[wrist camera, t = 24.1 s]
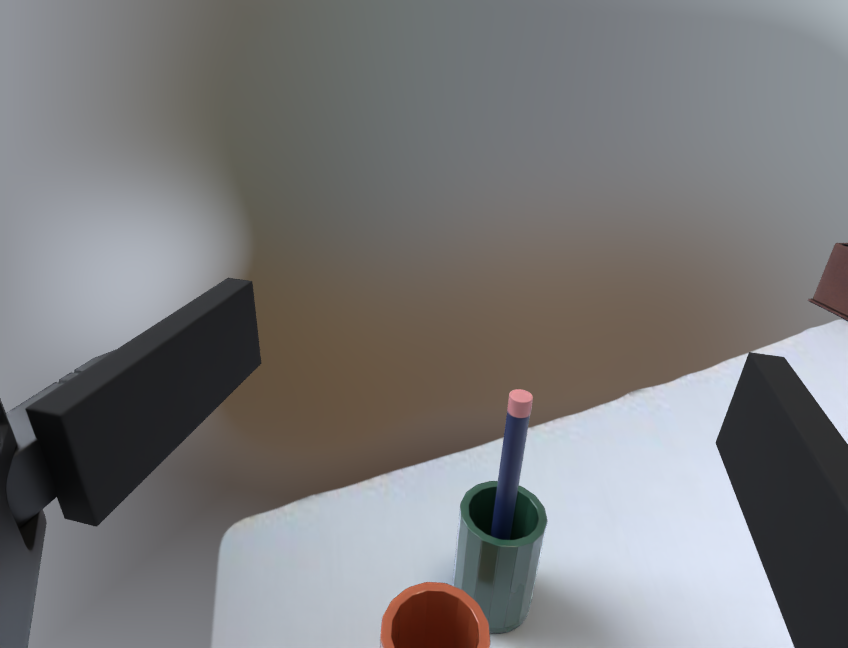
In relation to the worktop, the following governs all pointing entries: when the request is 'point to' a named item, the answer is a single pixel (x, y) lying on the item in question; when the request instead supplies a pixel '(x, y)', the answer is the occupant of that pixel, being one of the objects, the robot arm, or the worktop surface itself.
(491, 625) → the green cup
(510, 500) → the pencil
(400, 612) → the terracotta cup
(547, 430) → the worktop surface
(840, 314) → the desk organizer
